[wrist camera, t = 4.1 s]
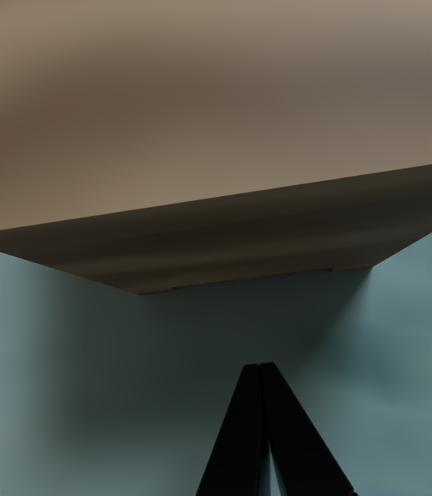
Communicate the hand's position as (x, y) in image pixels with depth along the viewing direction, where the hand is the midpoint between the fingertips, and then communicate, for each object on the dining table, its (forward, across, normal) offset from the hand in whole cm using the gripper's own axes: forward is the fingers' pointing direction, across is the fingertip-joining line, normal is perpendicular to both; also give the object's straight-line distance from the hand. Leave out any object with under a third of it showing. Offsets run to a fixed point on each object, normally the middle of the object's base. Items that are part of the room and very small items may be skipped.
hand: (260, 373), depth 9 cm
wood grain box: (+13, 0, -4) cm, 13 cm away
